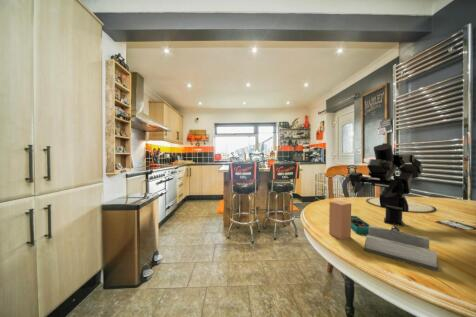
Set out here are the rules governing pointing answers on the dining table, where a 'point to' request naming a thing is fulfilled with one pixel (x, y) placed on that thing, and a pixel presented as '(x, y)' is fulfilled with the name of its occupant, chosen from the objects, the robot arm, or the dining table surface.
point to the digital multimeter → (359, 225)
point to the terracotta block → (340, 219)
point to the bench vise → (401, 246)
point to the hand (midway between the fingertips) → (368, 194)
